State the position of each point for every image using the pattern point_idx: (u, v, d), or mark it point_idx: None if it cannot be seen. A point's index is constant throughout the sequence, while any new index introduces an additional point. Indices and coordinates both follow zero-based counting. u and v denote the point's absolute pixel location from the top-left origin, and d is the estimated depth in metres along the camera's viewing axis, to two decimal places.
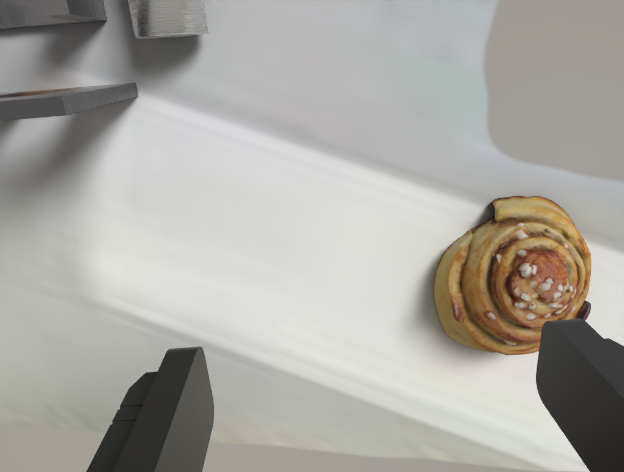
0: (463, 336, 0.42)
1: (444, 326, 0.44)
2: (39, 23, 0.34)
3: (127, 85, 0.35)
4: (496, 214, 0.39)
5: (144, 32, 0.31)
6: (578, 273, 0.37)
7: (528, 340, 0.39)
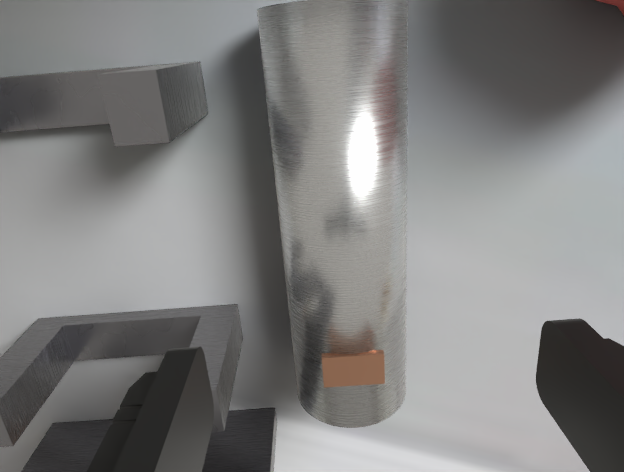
0: None
1: None
2: (145, 353, 0.23)
3: (273, 436, 0.23)
4: None
5: (324, 419, 0.20)
6: None
7: None
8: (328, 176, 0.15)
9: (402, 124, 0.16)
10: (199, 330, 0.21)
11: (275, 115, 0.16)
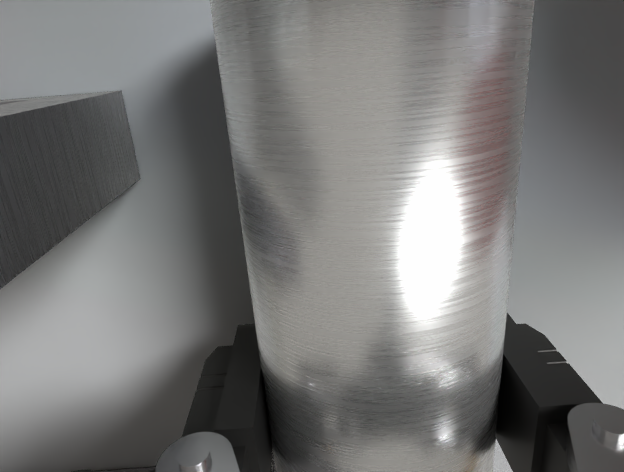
0: None
1: None
2: None
3: None
4: None
5: None
6: None
7: None
8: (361, 345, 0.07)
9: (512, 226, 0.08)
10: None
11: (249, 209, 0.08)
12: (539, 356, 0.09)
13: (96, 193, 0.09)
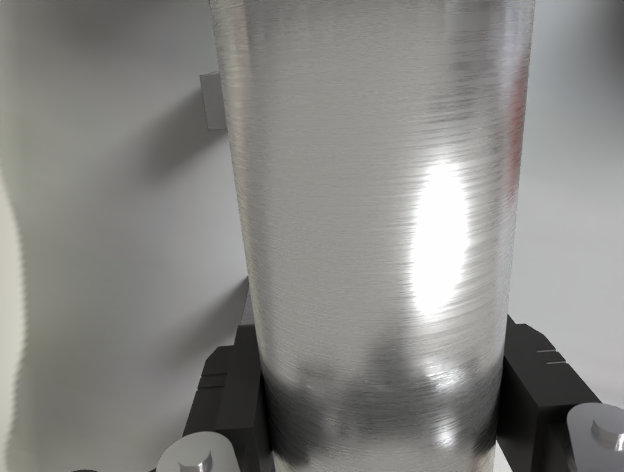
0: None
1: None
2: None
3: None
4: None
5: None
6: None
7: None
8: (361, 350, 0.07)
9: (512, 230, 0.08)
10: None
11: (248, 213, 0.08)
12: (538, 356, 0.09)
13: None
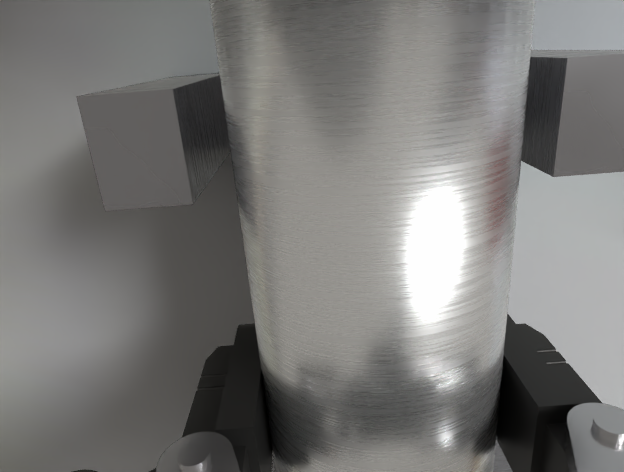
0: None
1: None
2: None
3: None
4: None
5: None
6: None
7: None
8: (360, 350, 0.07)
9: (512, 231, 0.08)
10: None
11: (249, 213, 0.08)
12: (539, 356, 0.09)
13: None
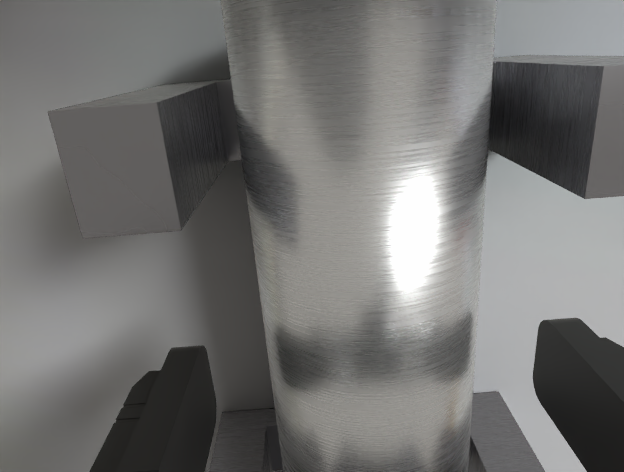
0: None
1: None
2: None
3: None
4: None
5: None
6: None
7: None
8: (347, 303, 0.08)
9: (480, 204, 0.09)
10: (478, 439, 0.14)
11: (253, 187, 0.09)
12: None
13: None
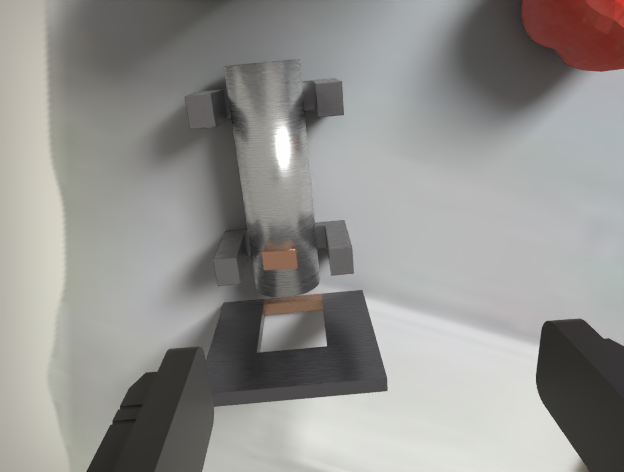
0: None
1: None
2: None
3: (365, 301, 0.39)
4: None
5: (267, 293, 0.34)
6: None
7: None
8: (258, 150, 0.30)
9: (298, 123, 0.31)
10: (328, 230, 0.36)
11: (233, 119, 0.31)
12: None
13: None
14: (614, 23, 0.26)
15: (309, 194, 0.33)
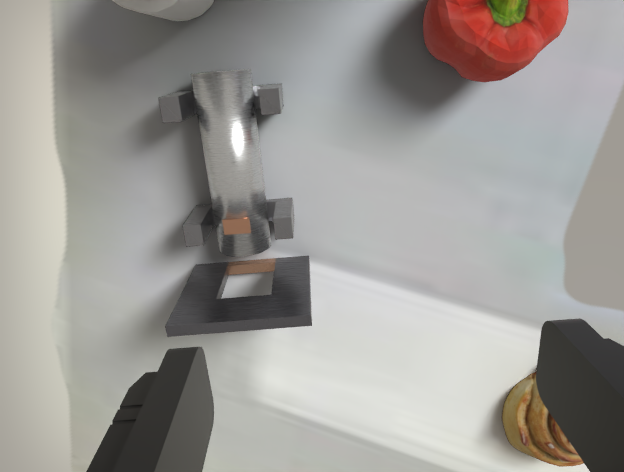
0: (527, 451, 0.57)
1: (510, 441, 0.58)
2: None
3: None
4: None
5: (227, 253, 0.43)
6: None
7: (578, 461, 0.53)
8: (218, 139, 0.39)
9: (249, 119, 0.40)
10: (277, 205, 0.45)
11: (198, 115, 0.40)
12: None
13: (282, 104, 0.42)
14: (477, 48, 0.35)
15: (260, 175, 0.42)
